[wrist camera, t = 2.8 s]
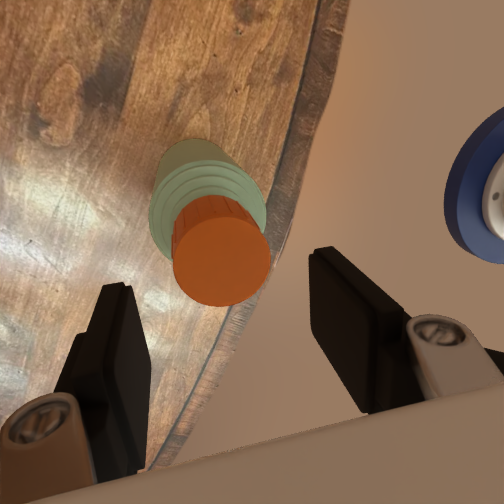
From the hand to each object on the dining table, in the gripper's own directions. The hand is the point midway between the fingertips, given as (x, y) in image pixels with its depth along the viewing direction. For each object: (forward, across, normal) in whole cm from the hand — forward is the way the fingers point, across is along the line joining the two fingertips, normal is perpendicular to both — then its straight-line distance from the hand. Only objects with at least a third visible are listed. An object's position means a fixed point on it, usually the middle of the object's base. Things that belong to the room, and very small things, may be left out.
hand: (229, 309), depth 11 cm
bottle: (+21, 0, 0) cm, 21 cm away
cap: (+7, 0, 0) cm, 7 cm away
